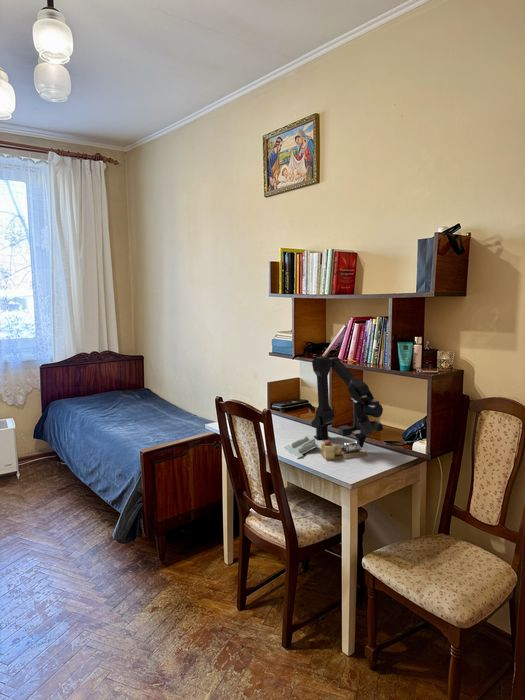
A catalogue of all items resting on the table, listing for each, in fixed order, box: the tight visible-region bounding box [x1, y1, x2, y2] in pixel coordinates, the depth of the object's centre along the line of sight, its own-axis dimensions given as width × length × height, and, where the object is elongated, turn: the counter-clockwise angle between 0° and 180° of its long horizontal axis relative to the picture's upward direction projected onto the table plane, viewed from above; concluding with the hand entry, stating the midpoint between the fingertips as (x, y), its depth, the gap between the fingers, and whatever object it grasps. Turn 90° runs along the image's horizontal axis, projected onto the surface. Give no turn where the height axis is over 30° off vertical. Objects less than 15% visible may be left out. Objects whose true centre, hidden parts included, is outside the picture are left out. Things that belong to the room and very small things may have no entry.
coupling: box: [341, 440, 361, 454], centre depth 205 cm, size 5×6×5 cm
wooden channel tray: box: [319, 439, 368, 463], centre depth 204 cm, size 10×18×7 cm, turn 103°
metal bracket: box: [283, 436, 320, 459], centre depth 213 cm, size 14×6×15 cm
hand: (361, 447), depth 206 cm, fingers closed
